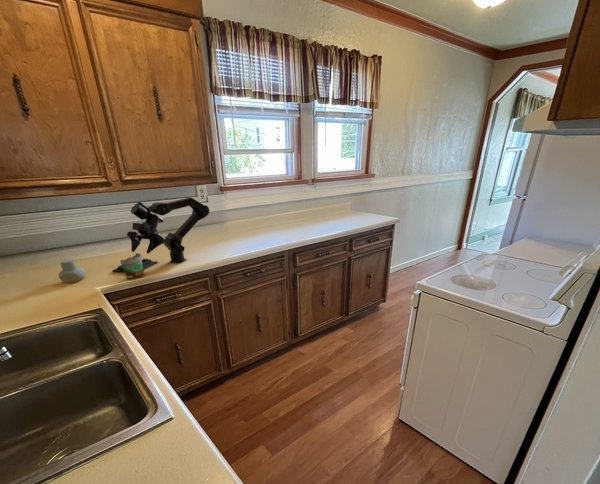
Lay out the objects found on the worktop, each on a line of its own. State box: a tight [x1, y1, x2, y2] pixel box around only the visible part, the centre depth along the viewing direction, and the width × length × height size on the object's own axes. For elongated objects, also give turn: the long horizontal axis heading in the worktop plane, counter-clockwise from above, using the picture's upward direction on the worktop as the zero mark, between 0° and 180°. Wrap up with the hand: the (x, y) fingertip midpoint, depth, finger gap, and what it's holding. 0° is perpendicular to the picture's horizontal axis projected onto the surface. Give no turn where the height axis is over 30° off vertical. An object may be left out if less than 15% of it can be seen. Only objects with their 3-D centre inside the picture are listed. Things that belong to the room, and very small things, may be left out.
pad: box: [112, 258, 158, 274], centre depth 174 cm, size 14×18×2 cm
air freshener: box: [58, 258, 87, 284], centre depth 155 cm, size 11×8×10 cm
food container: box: [120, 252, 145, 280], centre depth 160 cm, size 12×6×10 cm, turn 168°
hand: (139, 252), depth 161 cm, fingers open, 9 cm apart
